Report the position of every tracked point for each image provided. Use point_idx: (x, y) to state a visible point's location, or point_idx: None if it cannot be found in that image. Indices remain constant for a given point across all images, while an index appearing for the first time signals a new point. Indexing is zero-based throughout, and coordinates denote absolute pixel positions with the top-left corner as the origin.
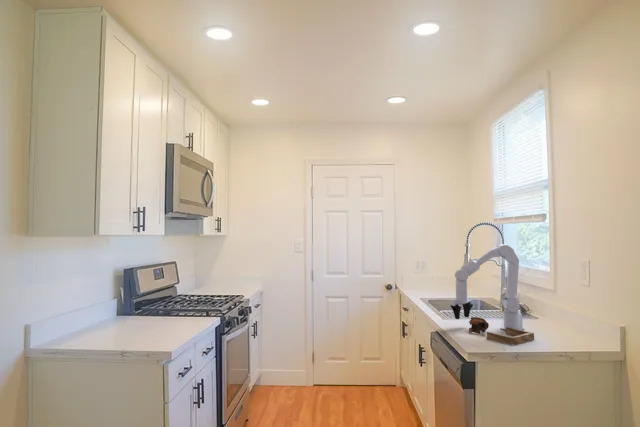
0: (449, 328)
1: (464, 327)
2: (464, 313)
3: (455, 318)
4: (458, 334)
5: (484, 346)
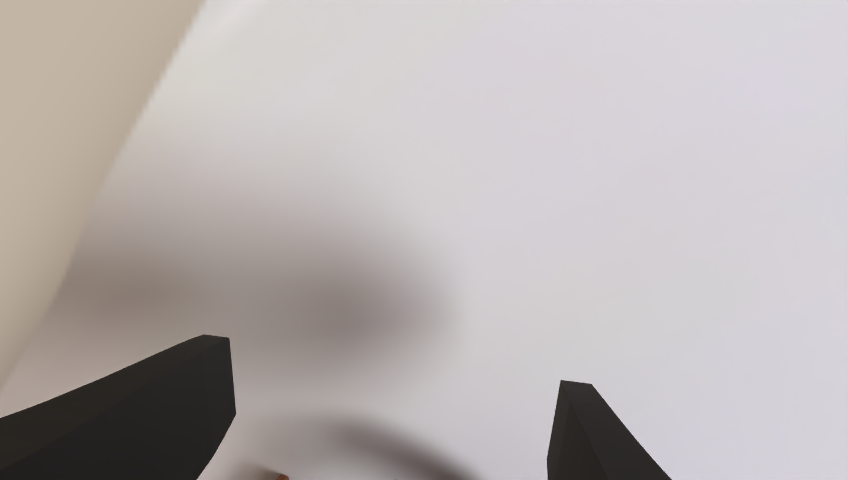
0: (205, 194)
1: (461, 315)
2: (578, 439)
3: (198, 341)
4: None
5: None
